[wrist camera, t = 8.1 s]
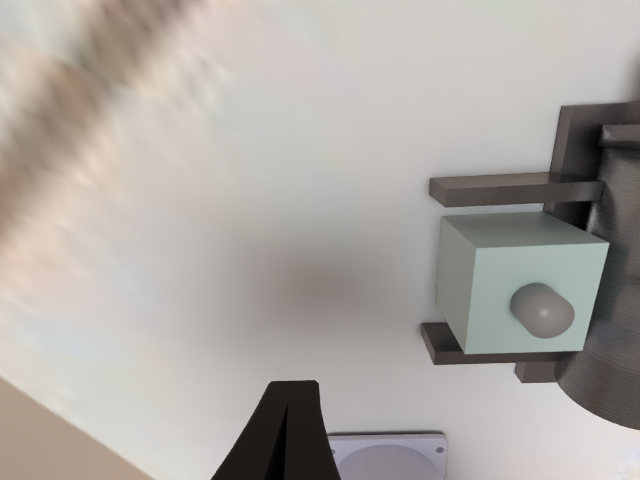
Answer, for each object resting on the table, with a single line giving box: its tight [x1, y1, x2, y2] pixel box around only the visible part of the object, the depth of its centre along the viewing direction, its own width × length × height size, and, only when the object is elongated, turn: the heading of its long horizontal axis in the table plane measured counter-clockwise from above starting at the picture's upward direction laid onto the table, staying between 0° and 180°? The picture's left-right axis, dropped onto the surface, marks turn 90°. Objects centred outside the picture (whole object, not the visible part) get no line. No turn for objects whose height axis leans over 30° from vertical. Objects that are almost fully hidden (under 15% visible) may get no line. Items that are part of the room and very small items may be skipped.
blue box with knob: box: [436, 211, 610, 354], centre depth 16 cm, size 5×5×6 cm
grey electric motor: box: [422, 102, 640, 430], centre depth 15 cm, size 17×12×6 cm
